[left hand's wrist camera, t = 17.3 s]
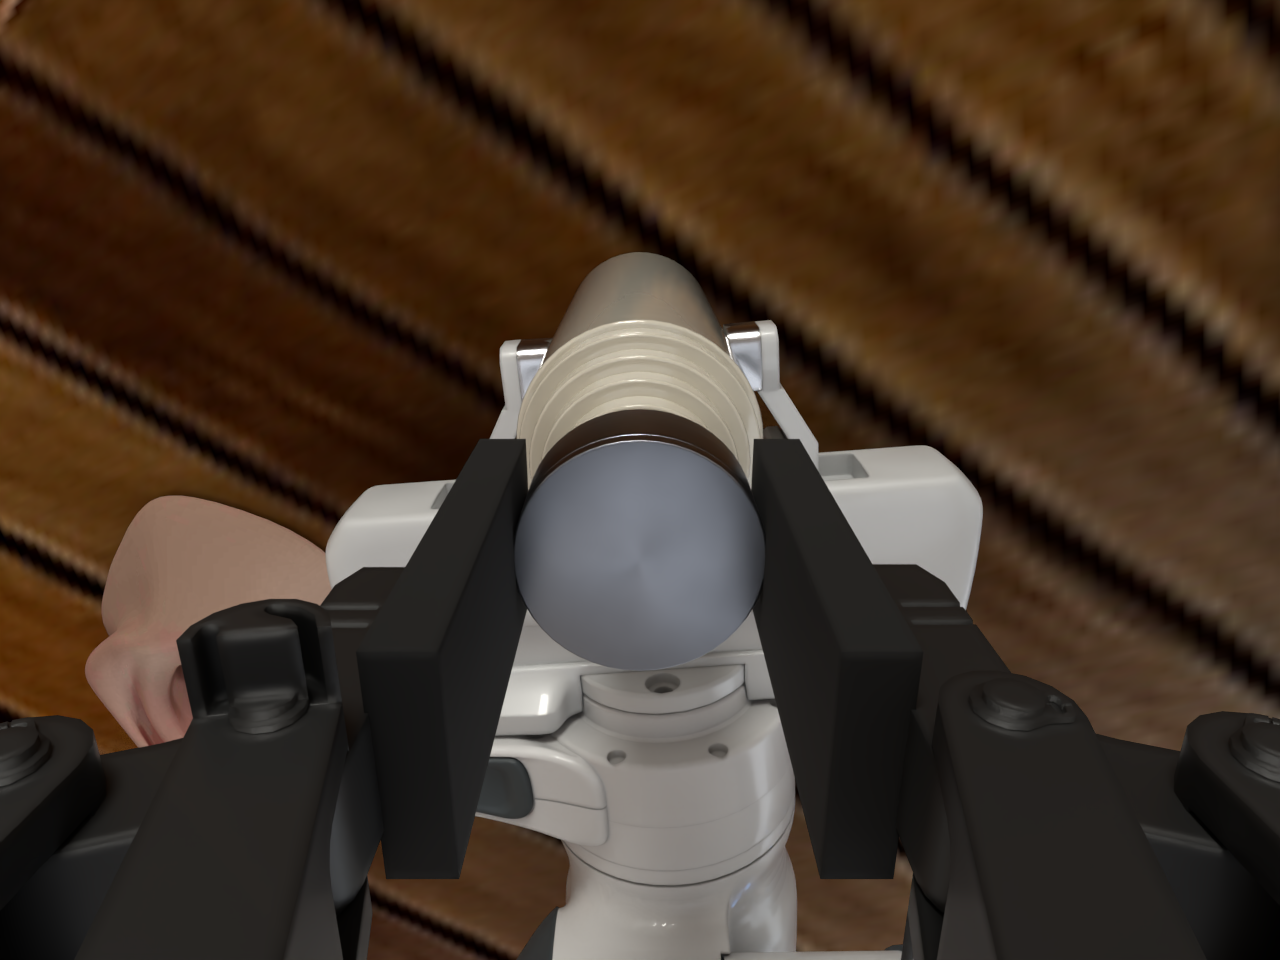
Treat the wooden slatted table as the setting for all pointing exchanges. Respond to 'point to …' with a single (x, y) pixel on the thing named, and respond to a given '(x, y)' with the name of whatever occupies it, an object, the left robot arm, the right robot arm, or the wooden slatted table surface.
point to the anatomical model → (186, 601)
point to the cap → (639, 541)
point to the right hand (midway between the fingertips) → (636, 333)
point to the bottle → (639, 360)
